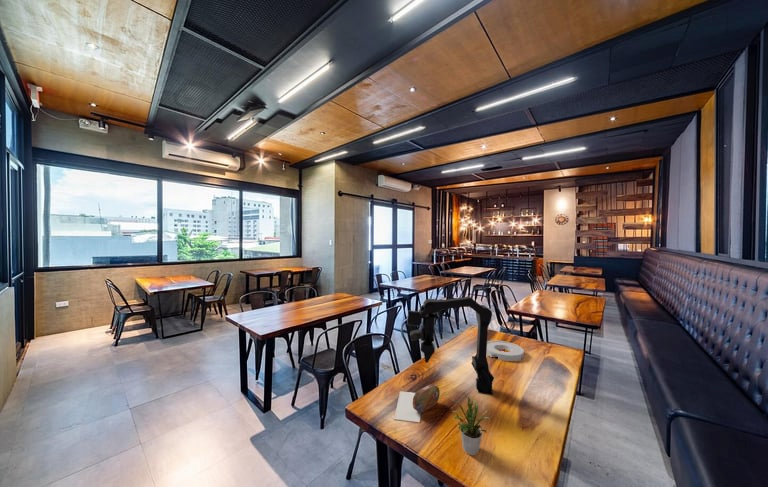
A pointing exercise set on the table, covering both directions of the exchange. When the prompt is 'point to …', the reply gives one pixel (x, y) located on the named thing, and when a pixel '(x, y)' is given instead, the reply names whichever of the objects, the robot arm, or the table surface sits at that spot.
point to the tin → (426, 398)
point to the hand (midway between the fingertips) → (426, 357)
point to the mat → (406, 408)
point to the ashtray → (513, 355)
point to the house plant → (470, 428)
